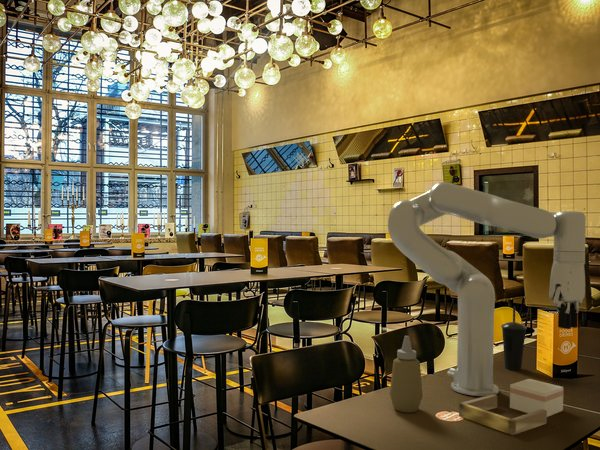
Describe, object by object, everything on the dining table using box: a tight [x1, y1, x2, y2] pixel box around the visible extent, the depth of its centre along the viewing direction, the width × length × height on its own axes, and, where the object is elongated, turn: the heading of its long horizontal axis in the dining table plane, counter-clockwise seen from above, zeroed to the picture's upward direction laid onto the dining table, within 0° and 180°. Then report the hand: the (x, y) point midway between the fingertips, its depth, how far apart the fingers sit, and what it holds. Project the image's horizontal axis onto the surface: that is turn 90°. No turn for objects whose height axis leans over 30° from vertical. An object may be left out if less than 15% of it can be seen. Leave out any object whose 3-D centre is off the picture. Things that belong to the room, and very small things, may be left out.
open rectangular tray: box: [458, 394, 548, 436], centre depth 130 cm, size 14×13×3 cm
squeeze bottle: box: [389, 335, 423, 413], centre depth 136 cm, size 8×8×18 cm
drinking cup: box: [500, 305, 528, 371], centre depth 177 cm, size 8×8×20 cm
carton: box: [509, 378, 564, 418], centre depth 138 cm, size 9×9×6 cm
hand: (567, 327), depth 146 cm, fingers open, 2 cm apart
